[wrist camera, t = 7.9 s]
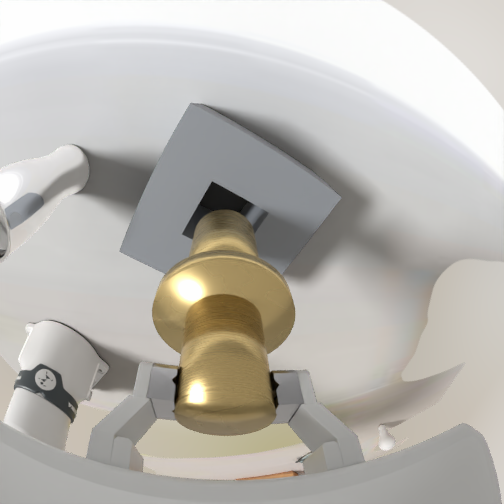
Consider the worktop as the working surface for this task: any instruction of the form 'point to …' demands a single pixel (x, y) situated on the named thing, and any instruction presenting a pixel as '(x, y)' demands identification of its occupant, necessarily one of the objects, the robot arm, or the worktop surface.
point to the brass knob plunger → (224, 327)
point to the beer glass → (37, 193)
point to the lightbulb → (385, 438)
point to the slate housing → (233, 179)
